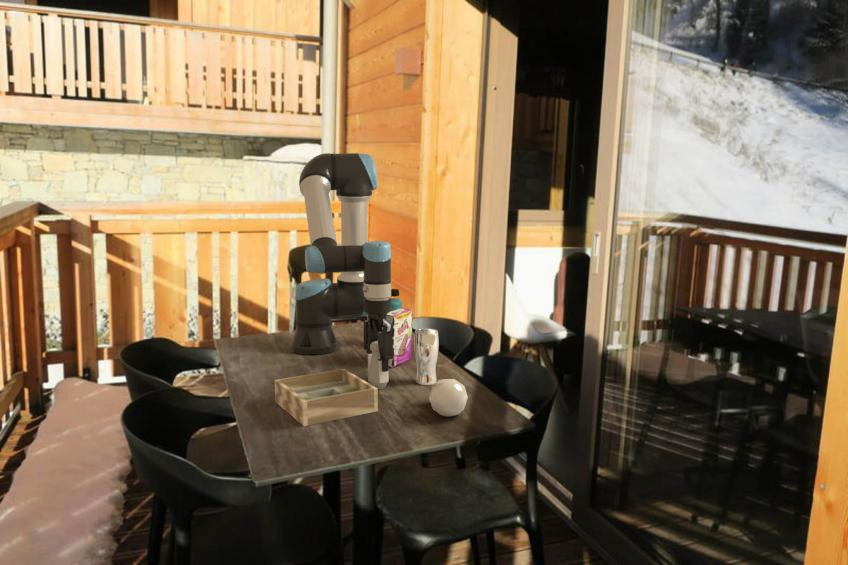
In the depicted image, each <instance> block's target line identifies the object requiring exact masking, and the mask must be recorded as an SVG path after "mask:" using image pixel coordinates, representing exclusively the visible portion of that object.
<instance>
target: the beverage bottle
mask: <svg viewBox="0 0 848 565" xmlns="http://www.w3.org/2000/svg"><path fill="white" fill-rule="evenodd" d="M392 297H393V298H392ZM397 297H400V290H399V289H398V288H391V297H389V298H390V299H391V311H394V310H397V309H403V301H401V299H400V298H397ZM391 311H390V312H391Z"/></svg>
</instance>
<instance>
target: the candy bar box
mask: <svg viewBox="0 0 848 565" xmlns="http://www.w3.org/2000/svg"><path fill="white" fill-rule="evenodd" d="M387 320H388V323H389V324H391V323H392V324H393V331H392V337H393V359H389V361H388V368H391V369H394V368H396V367H398V366H400V365H402V364H405V363H406V362H407V363H408V361H411V360H412V355H413V354H412V346H413V343H412V342H413V341H412V340H413V339H412V338H413V335H412V334H413V310H412V309H407V308H402V309H397V310H394V311H391V312H389V313H387Z"/></svg>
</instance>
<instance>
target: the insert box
mask: <svg viewBox="0 0 848 565" xmlns="http://www.w3.org/2000/svg"><path fill="white" fill-rule="evenodd" d="M378 390H379V389H378V388H376V387H374V386H373V385H371V384H369V382H367V381H366V380H365V379H362V378H361V377H359V376H358V375H355V374H354V373H352V372H351V371H349V370H348V369H345V368H339V369H332V370H327V371H320V372H315V373H310V374H309V373H308V374H303V375H297V376H290V377H284V378H278V379H274V400H275V401H274V402H275V403H276V404H277V405H278V406H280V408H282V409H283V410H286V411H285V412H287V413H288V414H289V415H290V416H291V417H292V416H293V418H294V419H295V420H296V421H297V422H298V423H299V424H301V425H302V426H303V427H306V426H312V425H317V424H322V423H326V422H330V421H335V420H341V419H347V418H352V417H356V416H361V415H365V414H370V413H375V412H379V394H378V393H379V392H378Z"/></svg>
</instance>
